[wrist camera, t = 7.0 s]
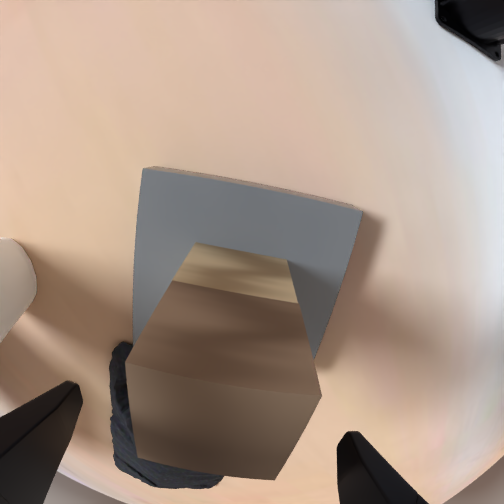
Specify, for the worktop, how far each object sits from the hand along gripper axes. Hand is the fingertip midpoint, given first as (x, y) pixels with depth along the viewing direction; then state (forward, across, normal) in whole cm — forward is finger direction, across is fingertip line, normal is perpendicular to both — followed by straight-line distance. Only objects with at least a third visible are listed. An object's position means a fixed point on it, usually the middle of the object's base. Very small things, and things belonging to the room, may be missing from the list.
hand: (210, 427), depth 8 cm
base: (+11, 0, 0) cm, 11 cm away
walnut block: (+4, 0, 0) cm, 4 cm away
